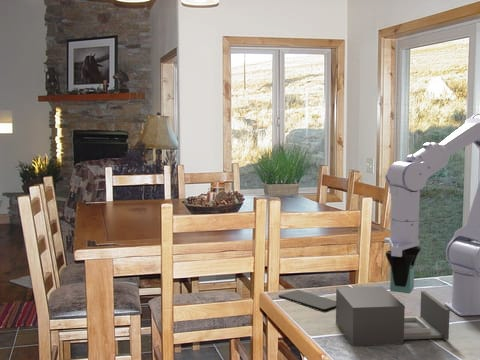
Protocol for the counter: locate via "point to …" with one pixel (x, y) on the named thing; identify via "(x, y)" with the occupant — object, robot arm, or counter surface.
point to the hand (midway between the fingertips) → (402, 283)
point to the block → (409, 284)
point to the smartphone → (310, 300)
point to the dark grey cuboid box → (370, 316)
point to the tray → (428, 320)
